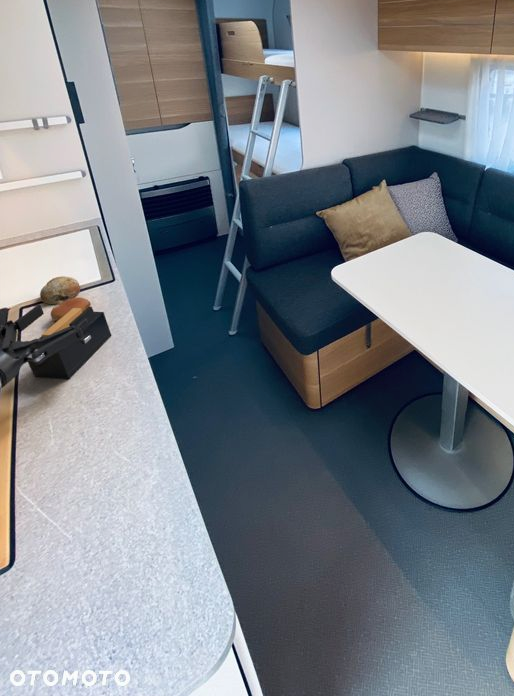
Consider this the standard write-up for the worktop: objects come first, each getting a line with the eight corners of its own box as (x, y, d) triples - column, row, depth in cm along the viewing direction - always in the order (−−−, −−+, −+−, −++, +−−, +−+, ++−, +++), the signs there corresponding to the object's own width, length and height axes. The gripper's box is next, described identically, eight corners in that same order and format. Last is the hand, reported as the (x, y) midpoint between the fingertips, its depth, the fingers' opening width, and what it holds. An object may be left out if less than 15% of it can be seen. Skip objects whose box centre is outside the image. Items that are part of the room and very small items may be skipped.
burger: (87, 323, 116) (82, 310, 114) (49, 332, 113) (43, 318, 112) (96, 303, 125) (91, 291, 123) (60, 311, 122) (55, 298, 120)
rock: (48, 316, 125) (43, 301, 120) (37, 292, 129) (31, 277, 124) (85, 301, 132) (82, 286, 127) (74, 279, 136) (70, 264, 131)
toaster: (34, 377, 98) (23, 351, 95) (80, 334, 112) (71, 310, 109) (71, 379, 98) (61, 353, 95) (113, 335, 112) (105, 311, 108)
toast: (53, 365, 100) (41, 334, 96) (83, 336, 109) (73, 307, 105) (62, 365, 100) (49, 335, 96) (91, 337, 109) (81, 308, 105)
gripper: (-63, 388, 85) (25, 320, 105) (49, 393, 83) (117, 323, 103) (-79, 360, 82) (14, 296, 102) (37, 365, 80) (109, 299, 100)
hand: (66, 310), depth 102 cm, fingers open, 13 cm apart
